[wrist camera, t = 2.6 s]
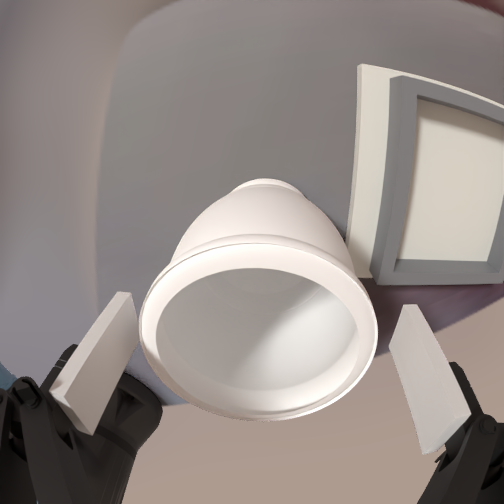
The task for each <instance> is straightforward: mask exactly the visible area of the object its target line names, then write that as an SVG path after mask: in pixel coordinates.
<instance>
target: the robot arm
mask: <svg viewBox="0 0 504 504" xmlns="http://www.w3.org/2000/svg"><path fill="white" fill-rule="evenodd" d="M139 340H140V337H139V322H138V319H137V315H136V311H135V307H134V304H133V300H132V296H131V293H126V292H117V293H116V295H115V296H114V297H113V299H112V300H111V301H110V303H109V304H108V305H107V307H106V308H105V309H104V311H103V312H102V313H101V315H100V316H99V317H98V319H97V320H96V322H95V323H94V324H93V326H92V327H91V328H90V330H89V331H88V333H87V334H86V336H85V337H84V338H83V340H82V341H81V343H80V344H79V345H76V344H73V345H71V346H70V347H69V348H67V349H66V350H65V351H64V352H63V354H62V355H61V357H60V358H59V360H58V361H57V362H56V364H55V367H53V368H52V370H51V371H50V373H49V374H48V376H47V377H46V379H45V380H44V382H43V383H42V385H41V386H40V388H39V387H38V386H37V384H36V383H35V381H34V380H33V379H32V378H31V377H21V378H19V379H17V378H16V376H15V375H13V374H11V373H10V372H9V371H8V370H7V369H6V368H5V367H4V366H3V365H2V364H1V363H0V504H121V503H122V500H123V497H124V493H125V490H126V487H127V483H128V480H129V477H130V473H131V470H132V467H133V464H134V460H135V457H136V454H137V452H138V450H139V449H140V447H141V446H142V445H143V444H144V443H145V441H146V440H147V439H148V438H149V437H150V435H151V434H152V433H153V432H154V431H155V430H156V428H157V427H158V425H159V423H160V420H161V416H162V412H163V410H162V406H161V404H160V402H159V400H158V399H157V398H156V396H155V395H154V394H153V393H152V392H151V391H150V390H149V389H148V388H146V387H145V386H144V385H143V384H141V383H140V382H138V381H137V380H135V379H134V378H132V377H130V376H129V375H127V374H125V373H123V371H124V369H125V367H126V365H127V363H128V361H129V359H130V357H131V355H132V353H133V351H134V350H135V348H136V346H137V344H138V342H139ZM389 349H390V352H391V354H392V357H393V360H394V362H395V366H396V368H397V371H398V374H399V377H400V380H401V383H402V386H403V389H404V392H405V396H406V399H407V402H408V405H409V408H410V412H411V415H412V418H413V422H414V425H415V429H416V433H417V436H418V440H419V444H420V448H421V451H422V455H423V454H428V453H432V452H435V451H438V450H439V449H440V448H441V447H442V446H443V445H444V444H445V447H446V451H445V452H444V453H442V454H441V455H440V456H439V457H438V458H437V460H436V461H435V462H436V463H437V462H438V461H439V460H440V462H439V464H438V466H437V468H436V470H435V472H434V474H433V476H432V478H431V479H430V482H429V483H428V485H427V487H426V489H425V491H424V492H423V494H422V496H421V498H420V499H419V501H418V503H417V504H504V423H497V422H496V420H495V419H494V418H493V417H492V416H490V415H487V414H484V413H483V411H482V409H481V407H480V405H479V402H478V401H477V399H476V396H475V394H474V392H473V390H472V388H471V387H470V383H469V381H468V380H467V377H466V375H465V373H464V371H463V369H462V368H461V367H460V366H458V364H457V363H456V362H449V363H448V361H447V359H446V357H445V355H444V353H443V351H442V349H441V347H440V345H439V343H438V342H437V340H436V338H435V336H434V334H433V332H432V330H431V329H430V327H429V325H428V323H427V321H426V320H425V318H424V316H423V314H422V312H421V311H420V309H419V307H418V306H417V304H411V305H403V308H402V311H401V314H400V317H399V320H398V322H397V325H396V328H395V331H394V334H393V336H392V339H391V342H390V344H389Z"/></svg>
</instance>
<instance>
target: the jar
mask: <svg viewBox="0 0 504 504" xmlns="http://www.w3.org/2000/svg"><path fill="white" fill-rule="evenodd" d="M139 337H140V343H141V346H142V350H143V352H144V355H145V357H146V359H147V361H148V363H149V365H150V366H151V368H152V369H153V371H154V372H155V374H156V375H157V376H158V377H159V378H160V380H161V381H162V382H163V383H164V384H165V385H166V386H167V387H168V388H170V389H171V390H172V391H173V392H174V393H176V394H177V395H178V396H180V397H181V398H183V399H184V400H186V401H188V402H189V403H191V404H193V405H195V406H197V407H199V408H201V409H204V410H206V411H208V412H211V413H214V414H217V415H220V416H224V417H229V418H233V419H240V420H247V421H278V420H285V419H291V418H296V417H300V416H303V415H307V414H309V413H312V412H315V411H317V410H320V409H322V408H324V407H326V406H328V405H330V404H332V403H333V402H335V401H337V400H338V399H339V398H341V397H342V396H344V395H345V394H346V393H348V392H349V391H350V390H351V389H352V388H353V387H354V386H355V385H356V384H357V383H358V382H359V381H360V379H361V378H362V377H363V375H364V374H365V372H366V371H367V369H368V368H369V366H370V364H371V362H372V359H373V357H374V354H375V351H376V346H377V339H378V327H377V320H376V316H375V312H374V309H373V305H372V302H371V300H370V298H369V295H368V293H367V291H366V289H365V288H364V286H363V285H362V283H361V282H360V280H359V279H358V278H357V277H356V275H355V271H354V267H353V264H352V260H351V257H350V254H349V252H348V249H347V247H346V245H345V243H344V241H343V239H342V237H341V235H340V233H339V232H338V230H337V229H336V227H335V226H334V225H333V223H332V222H331V221H330V219H329V218H328V217H327V216H326V215H325V214H324V213H323V212H322V211H321V210H320V209H319V208H318V207H317V206H315V205H314V204H313V203H312V202H310V201H309V200H308V199H306V198H305V196H304V195H303V194H302V193H301V192H300V191H299V190H297V189H296V188H295V187H293V186H292V185H290V184H288V183H286V182H283V181H280V180H276V179H256V180H252V181H248V182H246V183H244V184H242V185H240V186H238V187H237V188H235V189H234V190H233V191H232V192H231V193H230V194H228V195H226V196H225V197H223V198H221V199H219V200H218V201H216V202H215V203H213V204H212V205H211V206H209V207H208V208H207V209H206V210H205V211H204V212H202V213H201V214H200V215H199V216H198V217H197V219H196V220H195V221H194V222H193V223H192V224H191V226H190V227H189V228H188V230H187V231H186V233H185V234H184V236H183V237H182V239H181V241H180V243H179V244H178V246H177V248H176V251H175V253H174V255H173V257H172V260H171V263H170V264H169V265H168V266H167V267H166V268H165V269H164V270H163V271H162V272H161V273H160V274H159V275H158V277H157V278H156V279H155V281H154V283H153V284H152V286H151V288H150V290H149V291H148V294H147V296H146V298H145V300H144V302H143V305H142V308H141V312H140V317H139Z"/></svg>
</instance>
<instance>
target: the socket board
mask: <svg viewBox="0 0 504 504" xmlns="http://www.w3.org/2000/svg"><path fill="white" fill-rule="evenodd" d="M345 245H346V247H347V249H348V252H349V254H350V257H351V260H352V264H353V267H354V271H355V275H356V277H357V278H374V280H375V282H376V284H377V285H456V284H494V283H502V282H503V280H504V106H503V105H501V104H499V103H496V102H494V101H492V100H489V99H487V98H484V97H482V96H479V95H477V94H474V93H471V92H469V91H466V90H463V89H460V88H457V87H454V86H451V85H448V84H445V83H442V82H439V81H435V80H432V79H428V78H425V77H421V76H417V75H413V74H409V73H405V72H401V71H397V70H392V69H387V68H382V67H377V66H372V65H366V64H360V65H358V66H357V118H356V138H355V154H354V167H353V178H352V189H351V199H350V208H349V216H348V224H347V232H346V240H345Z"/></svg>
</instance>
